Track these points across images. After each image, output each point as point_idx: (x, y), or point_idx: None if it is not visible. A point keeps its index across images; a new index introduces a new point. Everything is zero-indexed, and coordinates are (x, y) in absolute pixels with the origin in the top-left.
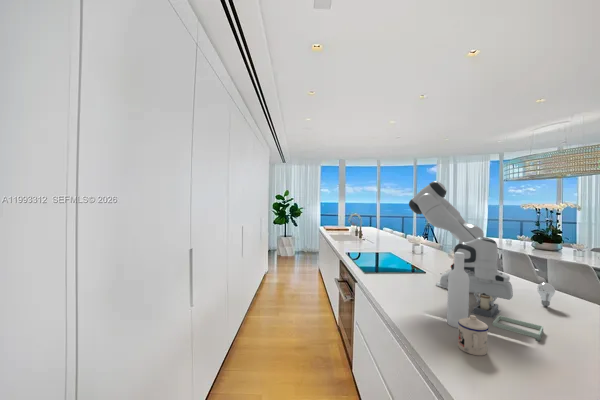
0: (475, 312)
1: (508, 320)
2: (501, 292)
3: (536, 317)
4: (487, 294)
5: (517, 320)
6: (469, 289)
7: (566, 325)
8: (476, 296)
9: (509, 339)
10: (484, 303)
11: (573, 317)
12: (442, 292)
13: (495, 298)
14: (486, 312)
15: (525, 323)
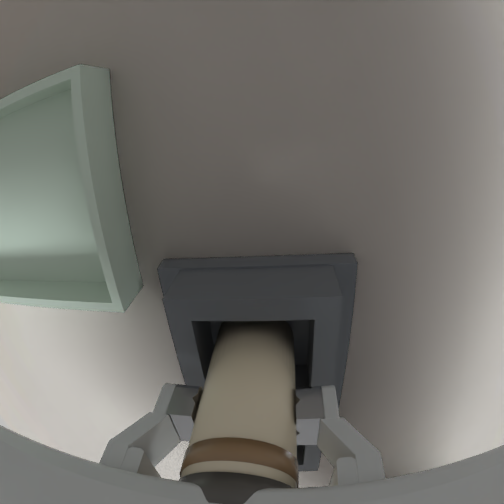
0: (316, 271)
1: (73, 290)
2: (8, 494)
3: (98, 443)
4: (176, 489)
5: (26, 296)
6: (454, 487)
7: (25, 414)
8: (342, 442)
9: (13, 6)
10: (236, 381)
11: None
12: (494, 448)
13: (107, 450)
14: (210, 289)
15: (3, 291)
